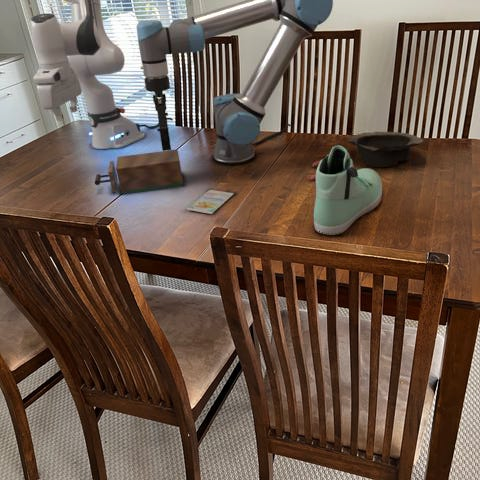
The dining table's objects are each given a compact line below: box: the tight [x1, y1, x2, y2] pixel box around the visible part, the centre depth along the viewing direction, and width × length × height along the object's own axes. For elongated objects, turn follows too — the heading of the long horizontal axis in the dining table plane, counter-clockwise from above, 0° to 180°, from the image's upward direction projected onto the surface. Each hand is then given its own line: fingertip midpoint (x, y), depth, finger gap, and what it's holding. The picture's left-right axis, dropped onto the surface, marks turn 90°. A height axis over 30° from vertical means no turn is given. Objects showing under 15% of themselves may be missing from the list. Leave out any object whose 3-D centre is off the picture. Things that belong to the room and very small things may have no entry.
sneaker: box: [313, 145, 383, 236], centre depth 133 cm, size 14×35×20 cm, turn 152°
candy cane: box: [309, 160, 321, 182], centre depth 162 cm, size 6×15×2 cm, turn 145°
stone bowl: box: [347, 131, 425, 168], centre depth 166 cm, size 25×25×9 cm
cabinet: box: [115, 148, 184, 195], centre depth 162 cm, size 20×11×9 cm, turn 100°
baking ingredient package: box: [186, 189, 235, 215], centre depth 148 cm, size 9×1×15 cm
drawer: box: [94, 160, 119, 193], centre depth 161 cm, size 24×10×7 cm, turn 100°
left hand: (67, 115), depth 156 cm, fingers open, 8 cm apart
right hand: (165, 142), depth 158 cm, fingers open, 13 cm apart
